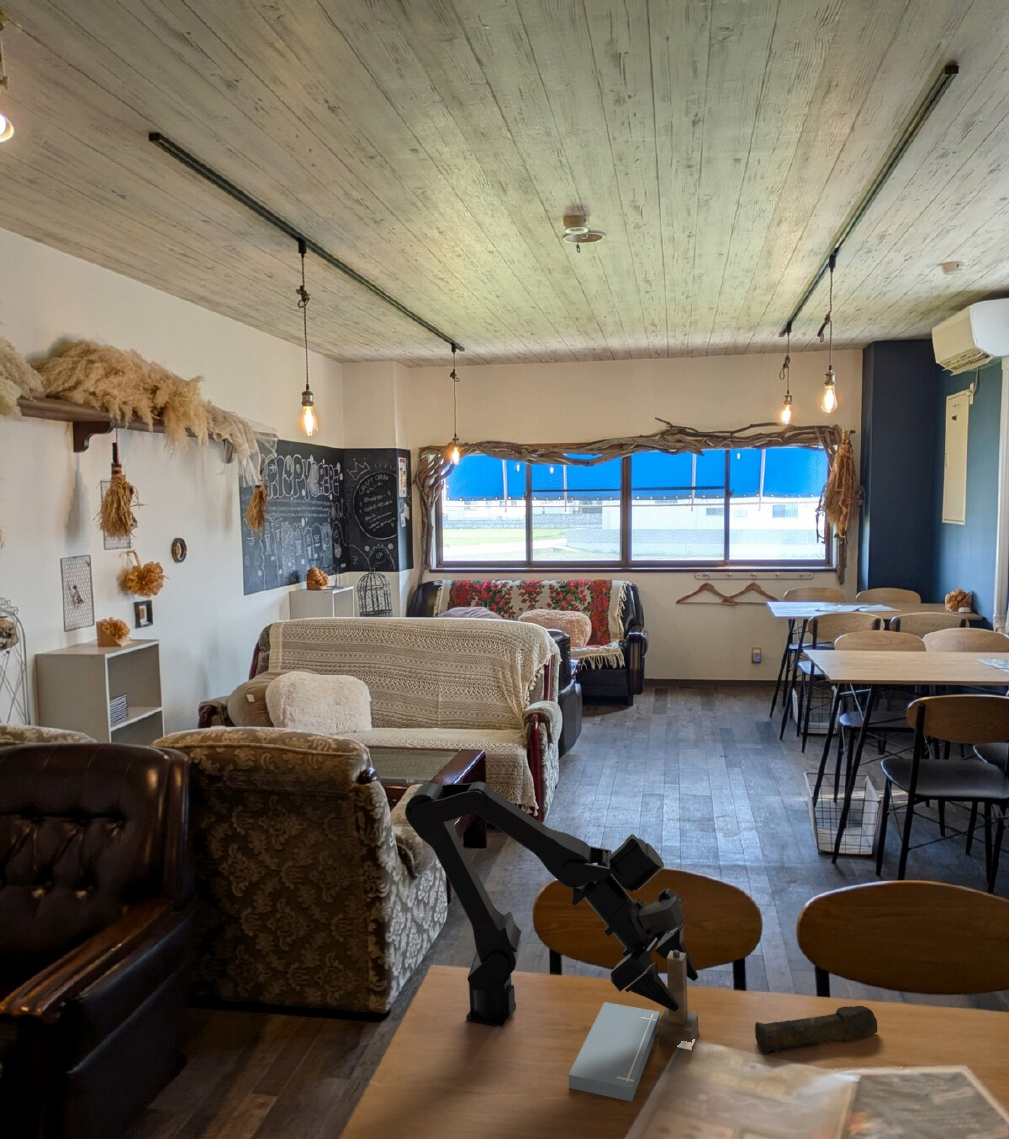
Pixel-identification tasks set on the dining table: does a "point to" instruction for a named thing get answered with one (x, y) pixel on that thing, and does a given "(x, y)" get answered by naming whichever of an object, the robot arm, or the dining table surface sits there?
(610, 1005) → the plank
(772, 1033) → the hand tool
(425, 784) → the robot arm
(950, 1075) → the dining table surface
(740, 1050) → the dining table surface
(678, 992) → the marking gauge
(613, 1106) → the dining table surface
